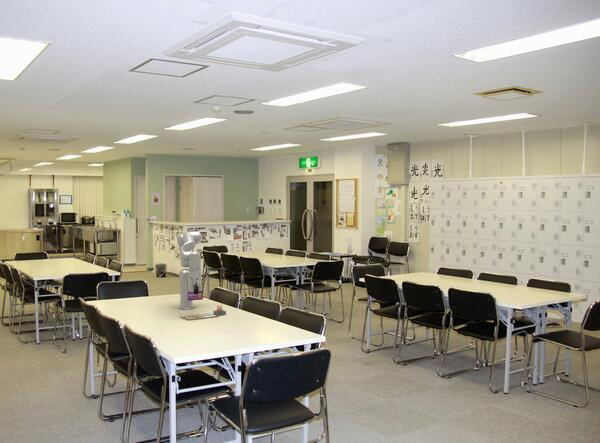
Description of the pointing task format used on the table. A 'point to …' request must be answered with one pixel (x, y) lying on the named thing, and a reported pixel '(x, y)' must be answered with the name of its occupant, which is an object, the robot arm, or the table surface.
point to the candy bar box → (191, 290)
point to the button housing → (219, 313)
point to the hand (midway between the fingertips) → (194, 293)
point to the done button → (219, 308)
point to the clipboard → (198, 316)
